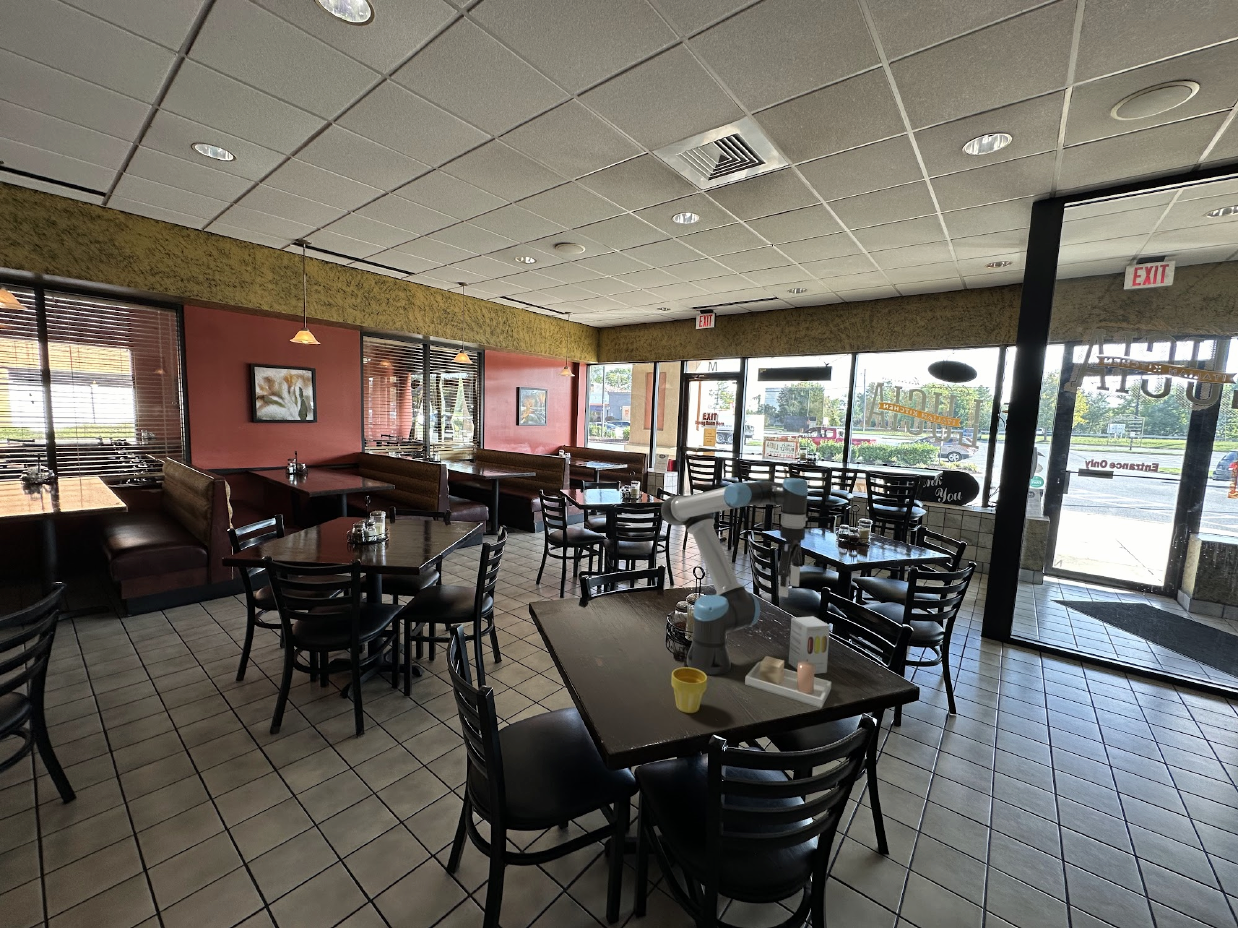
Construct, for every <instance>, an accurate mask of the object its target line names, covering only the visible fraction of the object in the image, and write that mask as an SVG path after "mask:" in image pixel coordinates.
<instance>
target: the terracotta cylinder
mask: <svg viewBox="0 0 1238 928" xmlns="http://www.w3.org/2000/svg"><path fill="white" fill-rule="evenodd" d="M814 669H815V666H814V665H813V664H811V663H808V662H799V663H798V670H797V669H796V670H797V671H796V672H797V690H798V691H799V692H802V693H806V694H811V693H813V692H814V677H815V674H814Z"/></svg>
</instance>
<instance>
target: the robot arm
mask: <svg viewBox="0 0 1238 928" xmlns="http://www.w3.org/2000/svg"><path fill="white" fill-rule="evenodd" d="M808 490H809V489H808V481H807V480H806V479H805V478H804V479H803V478H796V477H795V478H794V477H786V478H784V479H783V481H782V482H775V481H770V480H756V481H754V482H753V481H752V482H734V483H730V484H728V486H724V487H720V488H717V489H711V490H708V491H704V492H699V493H697V494H686V495H673V496H670V497H668V498H666V499H665V500H664V501H663V502H662V504H661V508H660V512H661V517H662V518H663V520H664V521H665V522H666V523H667V524H669V525H672V526H677V527H679V526H684V527H685V530H686V532H687V533H688V534H689V535H692V537H693V539H694V541H695V544H696V546H697V549H698V550H699V553H700V555H701V558H702V560H703V563H704V565H705V568H706V570H707V572H708V574H709V578H710V580H711V582H712V585H713V586H714V588H715V591H716V594H713V595H711V594H707V595H702V596H701V597H700V596H699V597H698V598H697V599H696V600H695V602H694V607H693V611H692V612H693V614H692V615H693V621H692V623H693V624H692V641H691V644H690V648H689V650H688V652H687V654H686V655H687V656H686V665H687V666H688V667H689V668H695V669H698V670H700V671H702V672H704V673H705V674H706V675H709V676H716V675H717V676H718V675H723V674H726V673H728V672H730V670H731V664H732V662H731V658H730V654H729V650H728V646H727V640H728V638H727V637H728V636H727V635H728V634H729V633H732V632H735V631H740V630H742V629H743V630H744V629H747V628H749V627H751V626H754V625H755V624H756V623H758V621H759V619H760V615H761V606H760V602H759V600H758V599H757V597H756V596H755V595H753V594H752V593H750V592H747V590H746V588H745V585H742V584H741V583H739V582H738V579H737V577H736V575H735V573H734V570H733V569H732V567H731V564H730V562H729V560H728V557H727V555H726V553H725V550H724V548H723V546H722V544H721V541H720V539H719V537H718V535H717V533H716V530H715V528H714V524H715V523H716V522H715V517H716V513H717V512H721V511H726V510H731V509H737V508H740V507H741V508H742V507H747V506H748V507H749V506H759V505H760V506H761V505H773V506H779V507H781V515H780V525H781V526H780V533H779V535H780V538H781V539H785V543H782V547H781V555H780V559H779V564H778V571H777V572H776V575H777V576H779V583H778V596H779V597H784V598H788V597H789V586H793V587H800V575H801V574H800V573H801V568H803V566H804V565H803V557H802V541H803V540H805V538H806V528H805V527H806V521H808V520H809V519H808V517H806V516H807V503H808V495H809V491H808ZM789 575H790V576H789Z"/></svg>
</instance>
